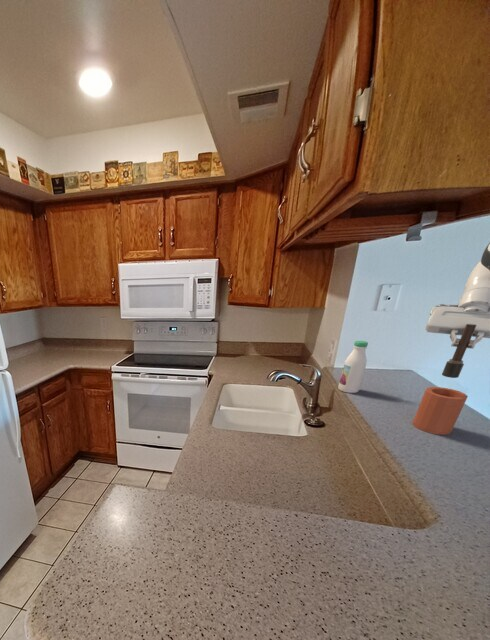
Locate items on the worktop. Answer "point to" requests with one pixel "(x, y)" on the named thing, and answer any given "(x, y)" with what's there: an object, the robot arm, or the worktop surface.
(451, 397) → the jar
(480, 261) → the robot arm
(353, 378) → the milk bottle
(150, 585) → the worktop surface
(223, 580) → the worktop surface
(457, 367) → the brush
